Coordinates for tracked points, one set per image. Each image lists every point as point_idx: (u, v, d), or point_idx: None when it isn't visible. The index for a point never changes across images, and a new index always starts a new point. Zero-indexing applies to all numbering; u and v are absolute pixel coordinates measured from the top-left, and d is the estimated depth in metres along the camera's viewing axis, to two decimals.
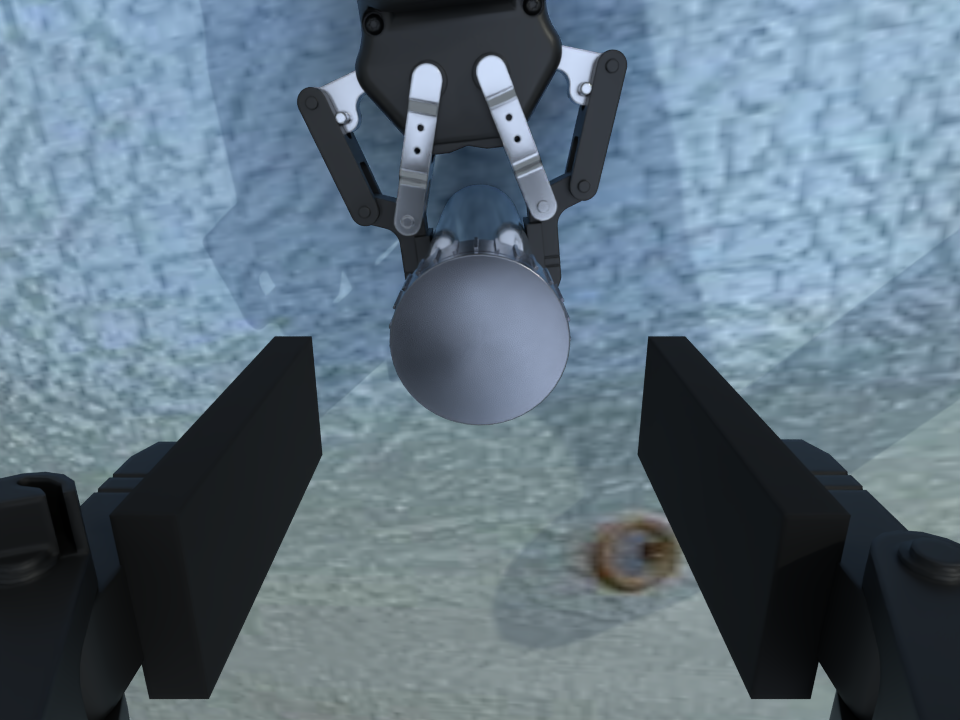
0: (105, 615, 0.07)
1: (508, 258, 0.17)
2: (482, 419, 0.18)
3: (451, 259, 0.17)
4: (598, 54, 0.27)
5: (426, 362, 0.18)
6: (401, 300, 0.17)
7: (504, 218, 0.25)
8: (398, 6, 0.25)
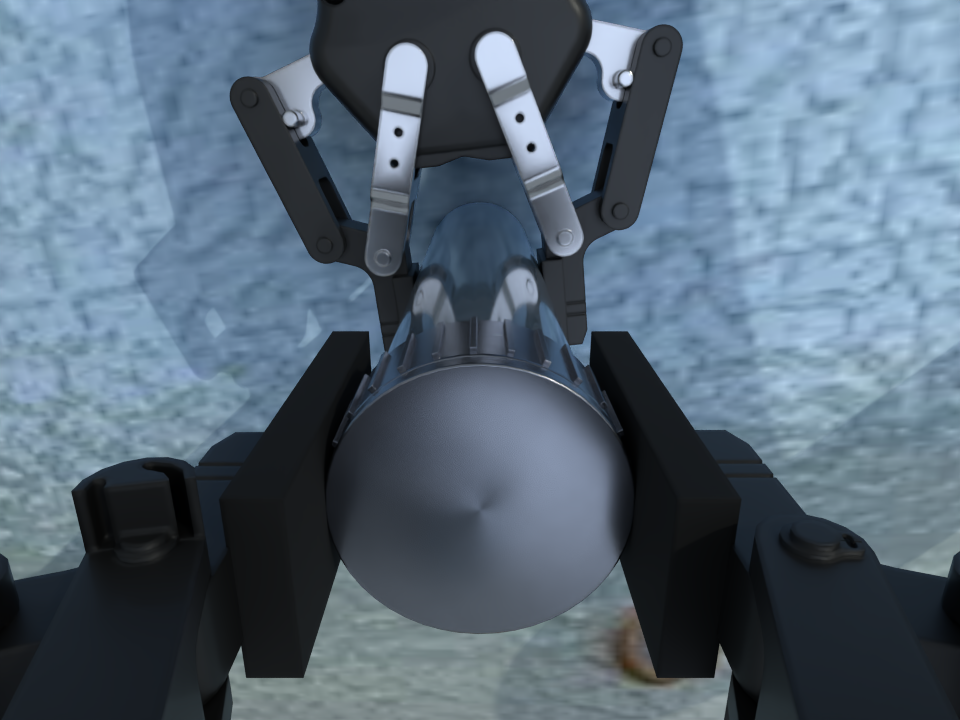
0: (216, 598, 0.08)
1: (531, 370, 0.09)
2: (484, 625, 0.11)
3: (428, 373, 0.09)
4: (642, 31, 0.20)
5: (388, 539, 0.10)
6: (342, 441, 0.10)
7: (514, 260, 0.18)
8: None
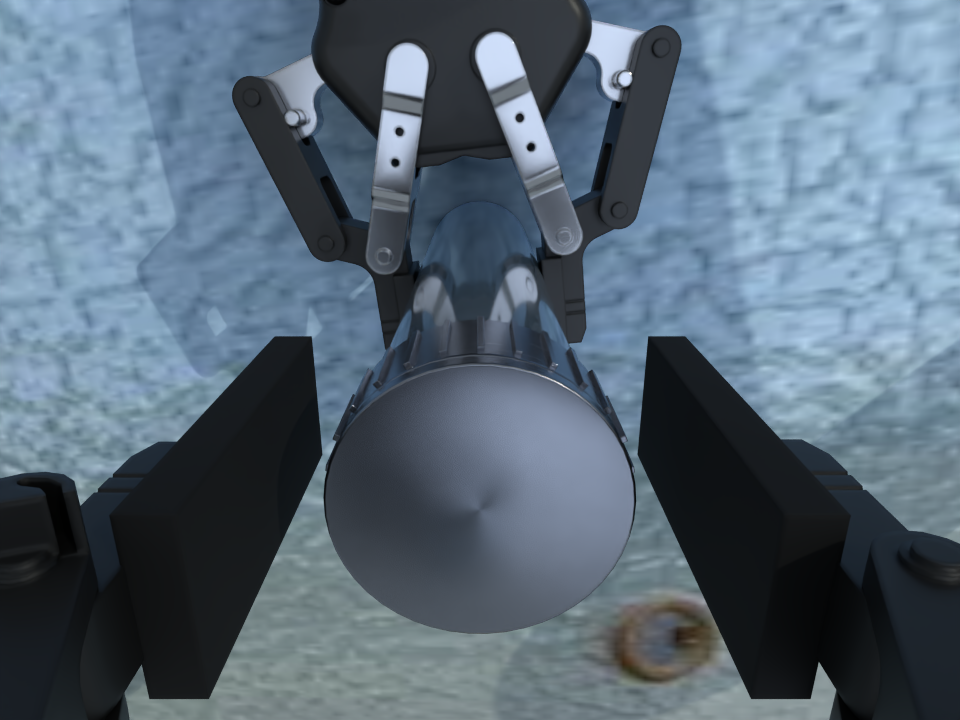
0: (105, 615, 0.07)
1: (362, 409, 0.10)
2: (606, 559, 0.10)
3: (325, 490, 0.10)
4: (641, 32, 0.20)
5: (469, 591, 0.11)
6: None
7: (514, 258, 0.18)
8: None
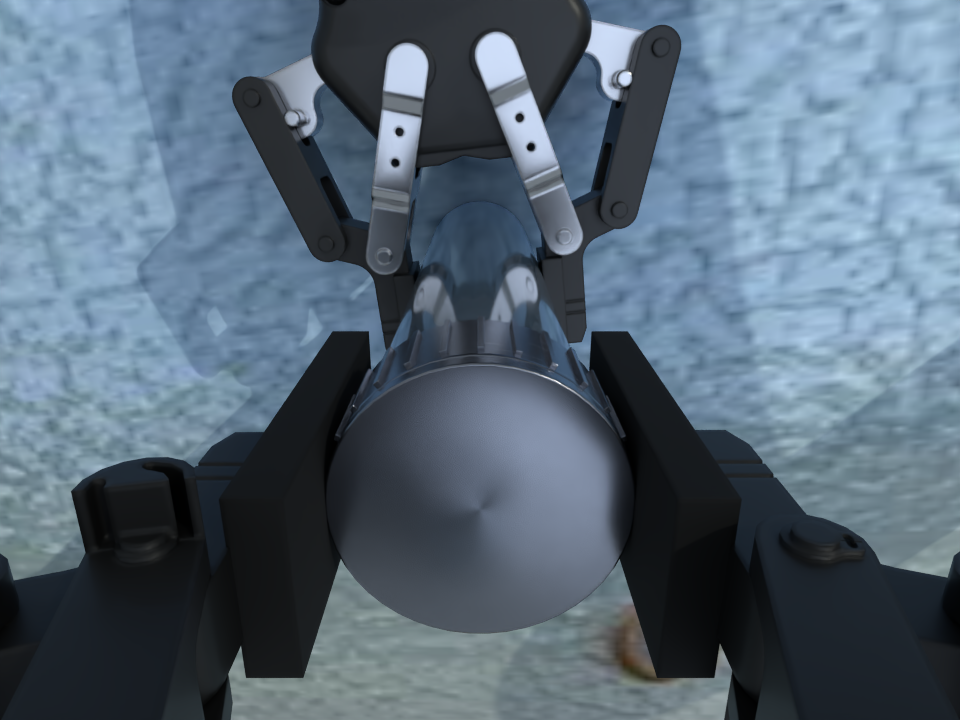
0: (216, 599, 0.08)
1: (362, 409, 0.10)
2: (607, 558, 0.10)
3: (326, 491, 0.10)
4: (640, 32, 0.20)
5: (470, 591, 0.11)
6: None
7: (514, 258, 0.18)
8: None
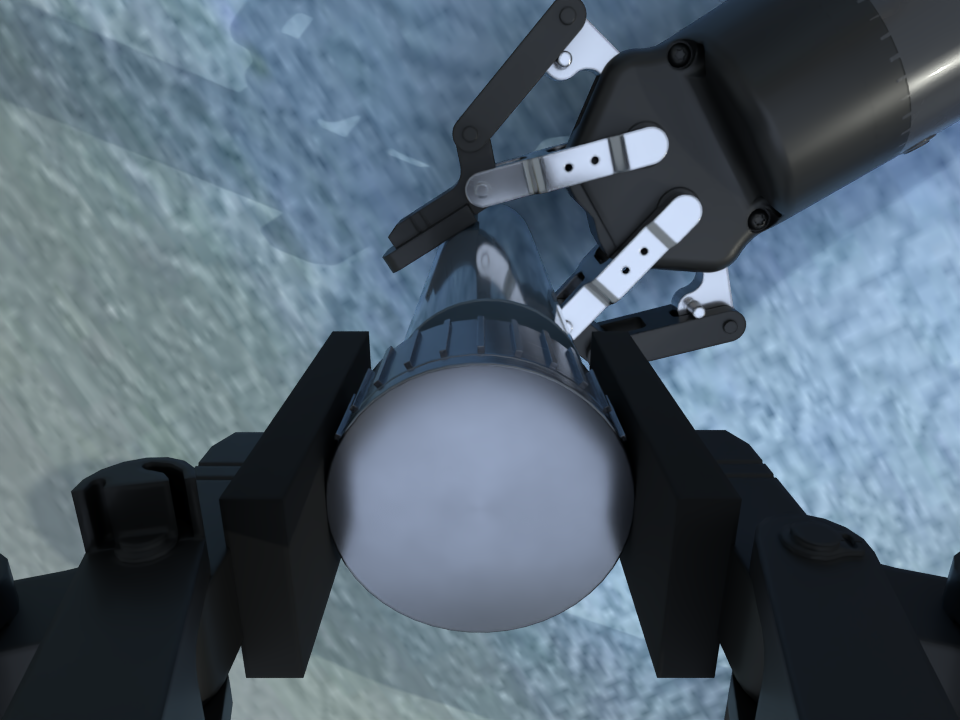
0: (216, 599, 0.08)
1: (362, 408, 0.10)
2: (607, 557, 0.10)
3: (326, 490, 0.10)
4: (731, 305, 0.25)
5: (470, 590, 0.11)
6: None
7: None
8: (720, 82, 0.21)
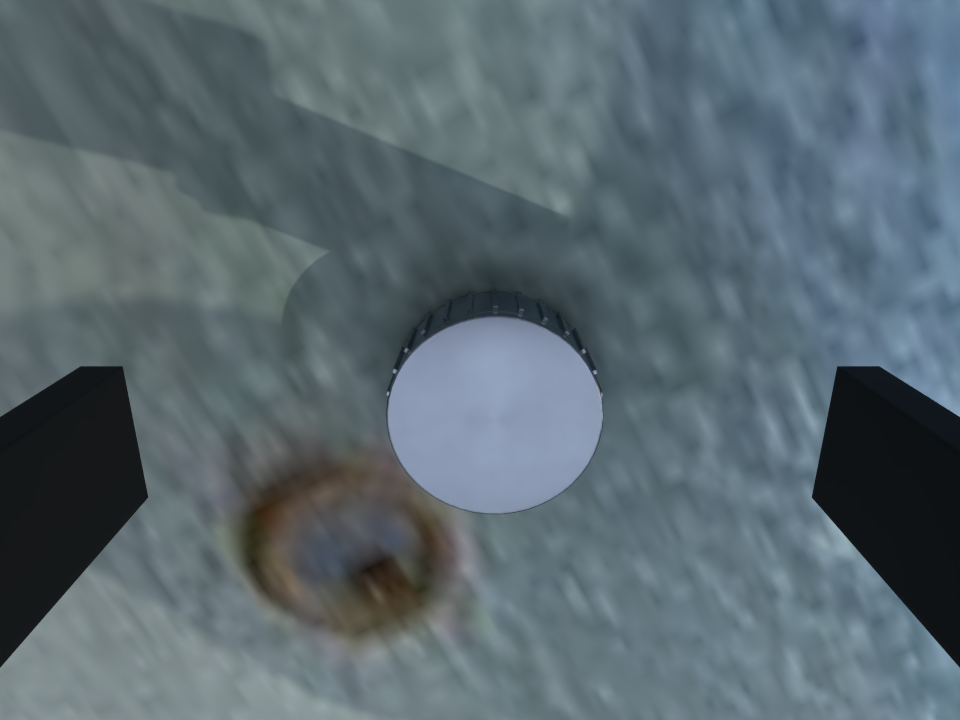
0: None
1: (414, 348, 0.14)
2: (583, 456, 0.15)
3: (388, 406, 0.14)
4: None
5: (487, 481, 0.15)
6: (407, 473, 0.15)
7: None
8: None
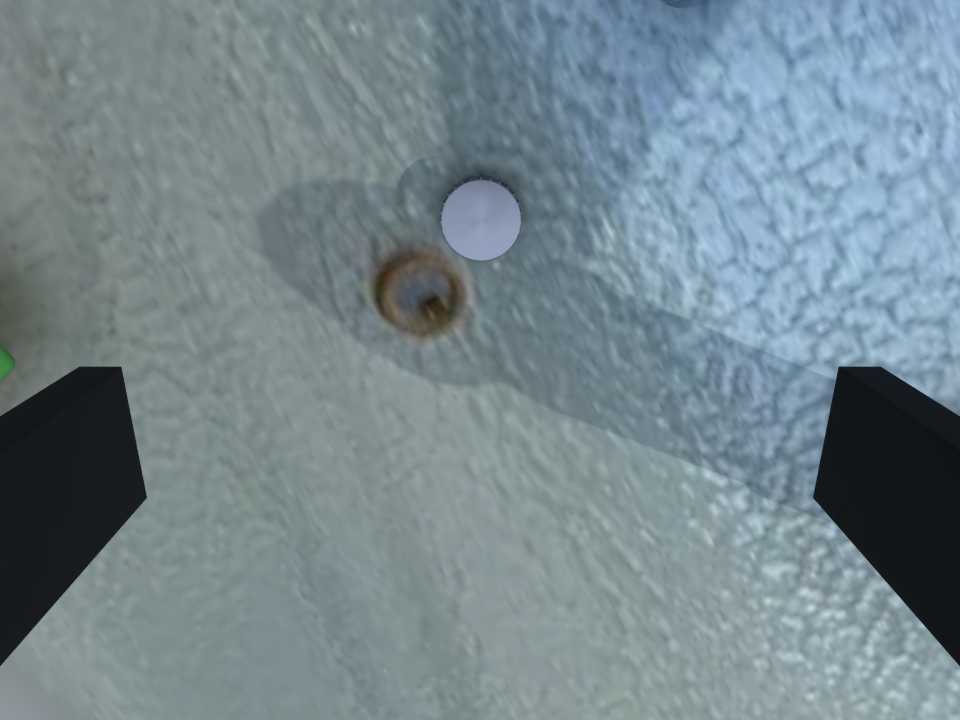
0: None
1: (451, 192, 0.39)
2: (514, 236, 0.39)
3: (441, 215, 0.39)
4: None
5: (478, 246, 0.40)
6: (448, 243, 0.40)
7: None
8: None
